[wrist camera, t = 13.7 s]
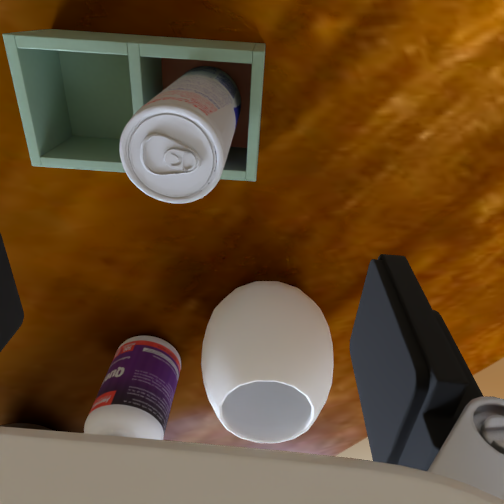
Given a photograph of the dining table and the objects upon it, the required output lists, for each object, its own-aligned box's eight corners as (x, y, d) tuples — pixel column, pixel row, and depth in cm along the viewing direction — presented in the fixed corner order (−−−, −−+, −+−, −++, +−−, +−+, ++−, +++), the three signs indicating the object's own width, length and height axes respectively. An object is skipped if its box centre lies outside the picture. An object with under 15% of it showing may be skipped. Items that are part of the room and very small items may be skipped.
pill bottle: (131, 321, 48) (83, 429, 36) (193, 347, 50) (167, 458, 38) (109, 363, 52) (59, 474, 40) (167, 386, 54) (137, 499, 42)
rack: (68, 141, 38) (31, 166, 32) (49, 28, 33) (1, 33, 27) (258, 154, 38) (255, 181, 32) (265, 43, 33) (264, 51, 27)
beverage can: (162, 84, 34) (95, 132, 21) (222, 52, 32) (190, 82, 20) (195, 145, 36) (154, 221, 24) (252, 118, 35) (242, 183, 22)
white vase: (310, 362, 51) (321, 467, 39) (204, 346, 50) (184, 448, 39) (339, 275, 44) (364, 371, 32) (217, 255, 43) (197, 346, 32)
